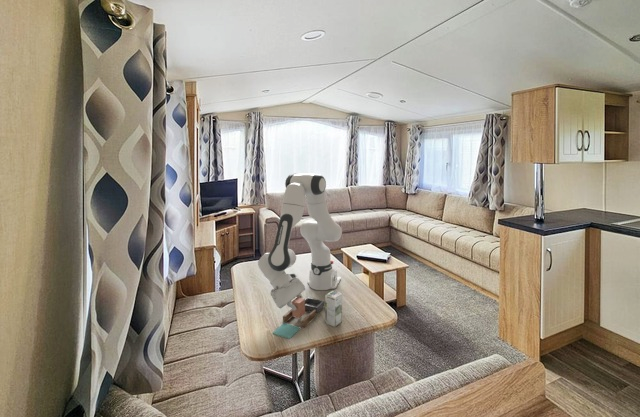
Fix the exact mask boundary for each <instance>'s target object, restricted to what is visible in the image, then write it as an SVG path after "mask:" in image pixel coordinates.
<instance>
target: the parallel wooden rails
mask: <svg viewBox="0 0 640 417" xmlns="http://www.w3.org/2000/svg"><path fill="white" fill-rule="evenodd" d="M316 317H317V313H316V310H313V311H312V312H310V313H309V314H307V316H305V318H303V319H302V320H301V328H303V329H304V328H306V327H307V325H308V324H310V322H311V321H313V320H314V319H315V318H316ZM292 318H293V316H292V308H291V309H290V310H288V311H287V312H286V313H285V314H284V315H283V316H282V322H283V323H287V322H288V321H289V320H290V319H292Z"/></svg>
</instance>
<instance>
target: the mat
mask: <svg viewBox="0 0 640 417" xmlns="http://www.w3.org/2000/svg"><path fill="white" fill-rule="evenodd" d="M301 328H302V326H301V327H300V326H296V325H293V324H290V323H287V322H283V323H282V324H280V326H278V327H277V328H276V329H275V330H274V331H273V332H272V333H271V334H273V335H276V336H279V337H282V338H285V339H288V340H290V339H291V338H292V337H293V336H295V335H296V334H297V333H298V331H300V330H301Z"/></svg>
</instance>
